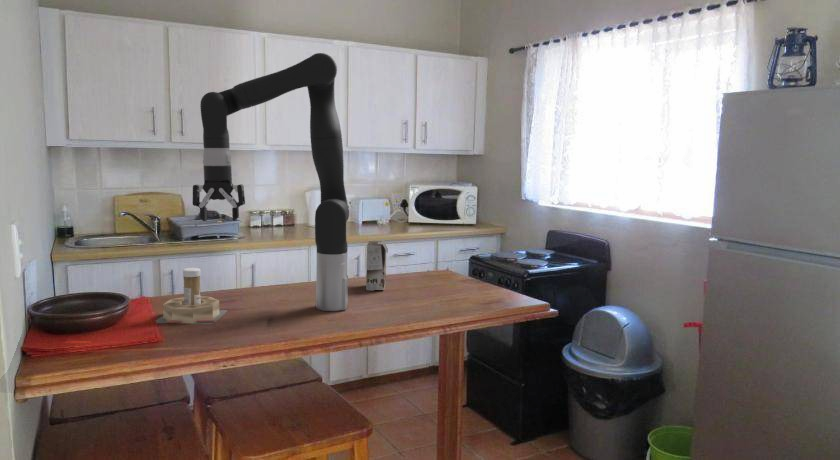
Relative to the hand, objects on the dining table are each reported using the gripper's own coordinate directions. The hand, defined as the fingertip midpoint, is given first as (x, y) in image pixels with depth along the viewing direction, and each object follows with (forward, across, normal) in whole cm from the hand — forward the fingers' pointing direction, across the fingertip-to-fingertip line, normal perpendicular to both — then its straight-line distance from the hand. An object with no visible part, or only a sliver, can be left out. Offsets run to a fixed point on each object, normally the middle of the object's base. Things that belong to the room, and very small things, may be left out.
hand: (219, 220), depth 173 cm
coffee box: (+28, -44, -33) cm, 62 cm away
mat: (+26, +6, +9) cm, 29 cm away
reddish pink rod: (+26, +4, +15) cm, 30 cm away
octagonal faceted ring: (+26, +6, +9) cm, 28 cm away
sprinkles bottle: (+26, +6, +9) cm, 28 cm away
